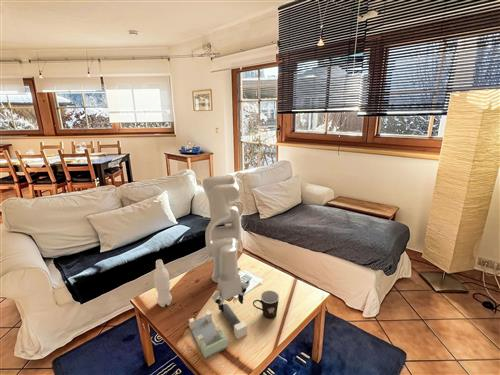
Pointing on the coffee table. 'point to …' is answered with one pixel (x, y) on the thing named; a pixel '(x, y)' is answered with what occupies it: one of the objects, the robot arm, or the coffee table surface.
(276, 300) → the coffee mug
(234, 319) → the grey rounded bar
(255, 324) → the coffee table surface
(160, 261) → the water bottle
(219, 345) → the board
